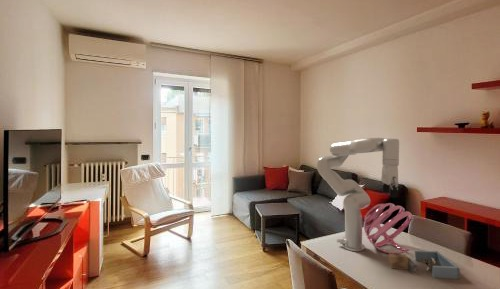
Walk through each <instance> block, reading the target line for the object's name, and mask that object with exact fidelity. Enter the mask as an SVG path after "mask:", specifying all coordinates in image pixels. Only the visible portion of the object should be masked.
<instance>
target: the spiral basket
mask: <svg viewBox="0 0 500 289" xmlns="http://www.w3.org/2000/svg"><path fill="white" fill-rule="evenodd" d="M388 206H389V208H388V209H386V210H385V211H384V209H385V208H386V207H388ZM397 210H399V211H398V213H397V214H396V215H395V216H394V217H392V218H391V219H389V220H388V221H386V220H387V219H388V218H389V217H390V216H391V215H392V214H393V212H395V211H397ZM405 217H406V220H405V221H404V222H403V223H402V224H401V226H399V227H398V228H397V229H396V230H395V231H394V232H392V233H391V234H390V235H388V234H387V232H388V231H389V230H391V229H392V228H393V227H394V226H395V225H396V224H397V223H398V222H399V221H401V220H403V219H404V218H405ZM413 218H414V216H413V214H412V213H411V212H410V211H406V210H405V208H404V207H403V206H401V205H395V204H394V203H391V202H388V203H378V204H376V205H375V206H373V207H371V209H369V210H368V211H367V212H366V214H365V215H364V221H363V230H364V233H365V236H366V238H367V240H368V241H369V243H370V244H371V245H372V246H373V247H374V248H376V249H377V250H379V251H380V252H383V253H386V254H388V255H389V254H404V253H406V252H408V251H410V249H409V248H404V247H402V246H401V245H400V244H398V243H397V242H396V241H395V240H394V239H395V238H396V237H398V236H399V235H400V234H401V233H402V232H404V230H406V228H408V227H409V225H410V224H411V223H412V220H413ZM370 221H371V223H370V224H369V225H367V224H368V223H369V222H370ZM385 221H386V222H385ZM384 222H385V223H384ZM383 223H384V224H383ZM382 224H383V225H382ZM381 225H382V226H381ZM375 228H376V229H377V231H376V232H375V233H373V234H370V233H371V232H372V230H373V229H375ZM381 236H382V237H383V238H384V239H383V240H381V241H379V242H378V240H379V238H380V237H381ZM388 243H389V244H391V245H392V246H394V247H395V248H397V249H399V250H401V251H397V252H396V251H395V252H392V251H387V250H384V249H382V248H380V247H382V246H385V245H386V244H388Z"/></svg>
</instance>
